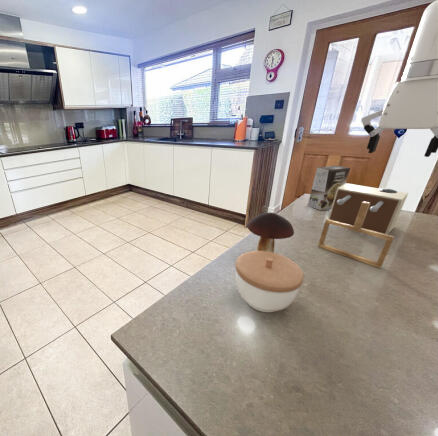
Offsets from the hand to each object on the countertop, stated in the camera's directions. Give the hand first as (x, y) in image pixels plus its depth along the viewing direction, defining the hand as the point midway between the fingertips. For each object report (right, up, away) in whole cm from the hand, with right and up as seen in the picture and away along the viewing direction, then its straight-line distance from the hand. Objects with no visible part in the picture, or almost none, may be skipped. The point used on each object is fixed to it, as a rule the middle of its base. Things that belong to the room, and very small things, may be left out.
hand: (397, 154), depth 57 cm
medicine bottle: (+19, -17, +24) cm, 35 cm away
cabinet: (+10, -19, +23) cm, 31 cm away
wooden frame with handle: (-5, -26, +8) cm, 28 cm away
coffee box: (+11, -11, +40) cm, 43 cm away
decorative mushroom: (-29, -28, +8) cm, 41 cm away
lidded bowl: (-35, -34, -4) cm, 49 cm away
